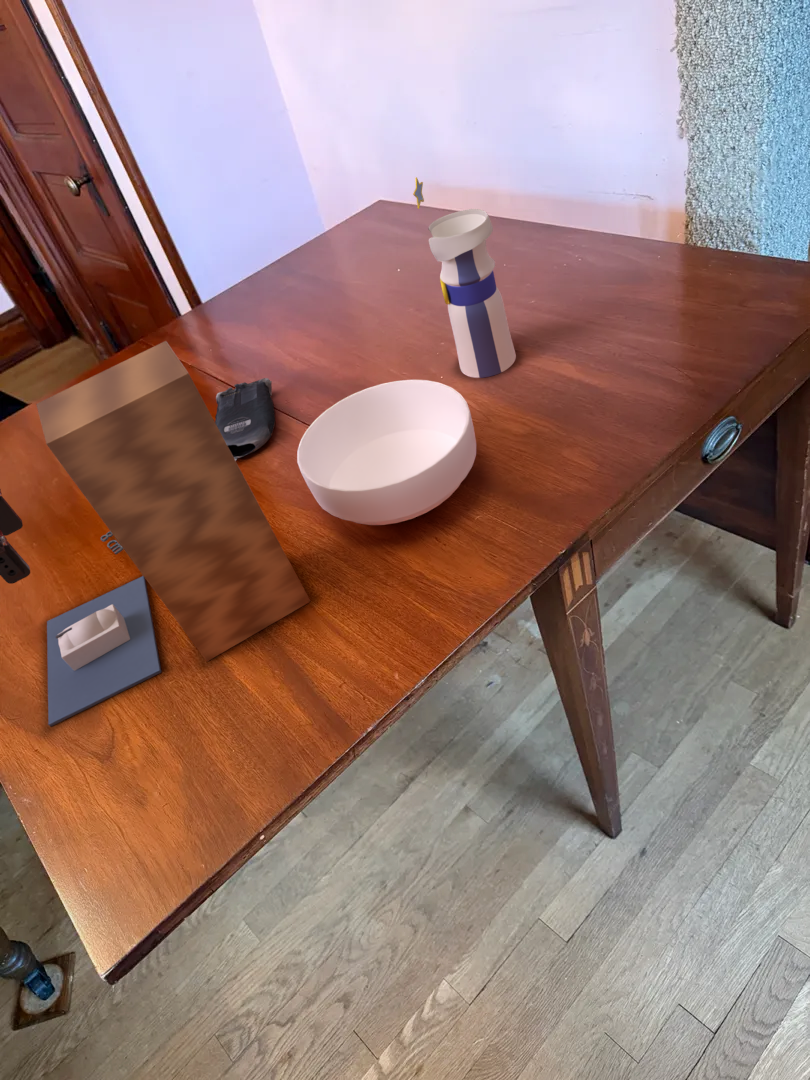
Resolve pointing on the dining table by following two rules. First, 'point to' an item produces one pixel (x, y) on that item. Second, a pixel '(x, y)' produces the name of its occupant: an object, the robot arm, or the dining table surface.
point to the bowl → (389, 451)
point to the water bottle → (471, 291)
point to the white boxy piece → (92, 637)
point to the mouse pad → (110, 669)
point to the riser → (173, 497)
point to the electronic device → (246, 416)
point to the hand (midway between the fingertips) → (17, 552)
